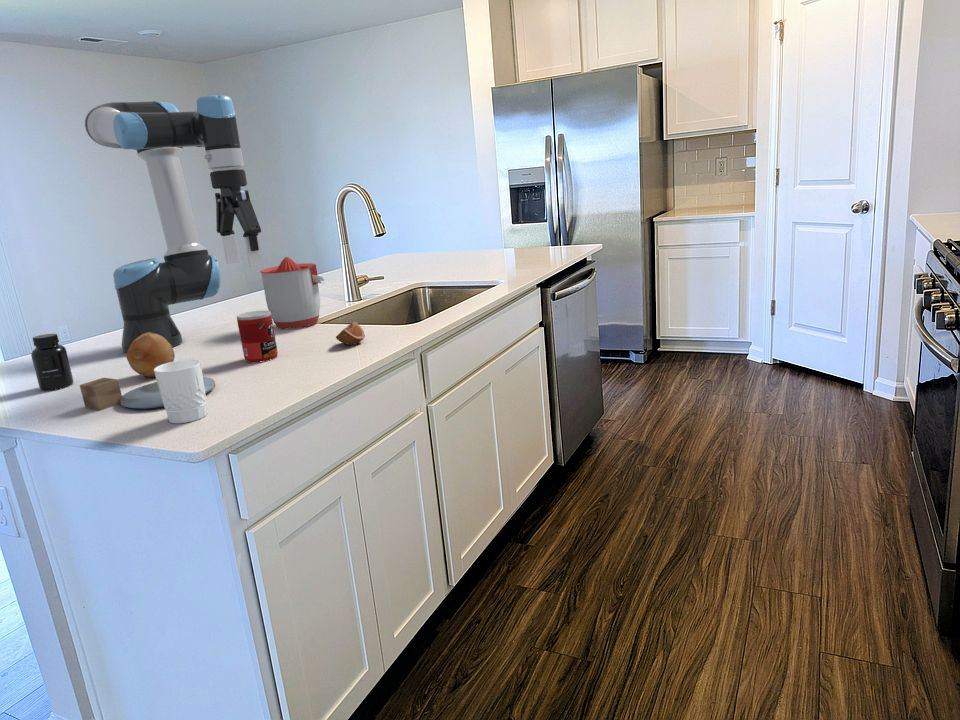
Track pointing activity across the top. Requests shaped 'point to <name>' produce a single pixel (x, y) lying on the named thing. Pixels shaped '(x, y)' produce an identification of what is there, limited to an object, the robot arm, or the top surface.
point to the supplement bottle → (51, 363)
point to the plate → (152, 395)
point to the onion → (149, 353)
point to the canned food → (257, 336)
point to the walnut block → (101, 393)
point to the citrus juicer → (292, 293)
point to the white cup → (182, 390)
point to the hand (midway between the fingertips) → (244, 264)
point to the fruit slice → (351, 334)
